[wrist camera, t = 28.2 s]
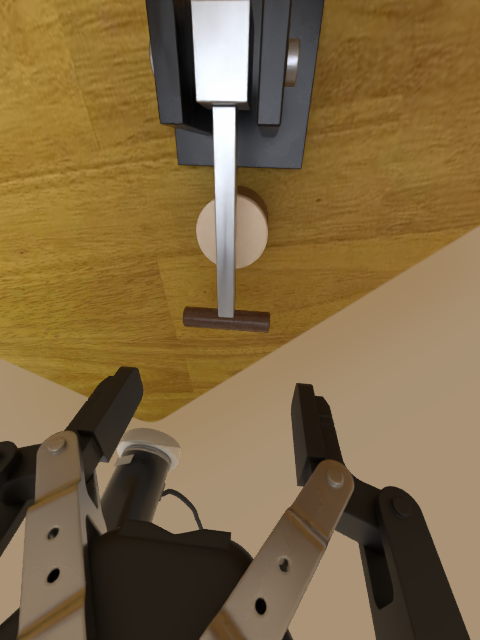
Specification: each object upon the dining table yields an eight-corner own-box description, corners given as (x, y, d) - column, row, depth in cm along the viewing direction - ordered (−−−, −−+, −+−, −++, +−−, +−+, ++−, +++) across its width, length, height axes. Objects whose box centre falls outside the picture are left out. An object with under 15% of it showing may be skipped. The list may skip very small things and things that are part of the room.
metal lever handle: (268, 321, 19) (268, 341, 17) (190, 315, 20) (181, 334, 18) (299, 24, 11) (307, -4, 9) (160, 25, 11) (136, -2, 9)
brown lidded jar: (265, 249, 23) (264, 271, 19) (210, 246, 23) (198, 267, 19) (270, 187, 20) (271, 196, 16) (208, 185, 20) (193, 193, 16)
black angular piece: (299, 168, 19) (322, 179, 11) (182, 164, 20) (123, 172, 12) (320, 8, 15) (385, -170, 7) (169, 9, 15) (58, -154, 7)
